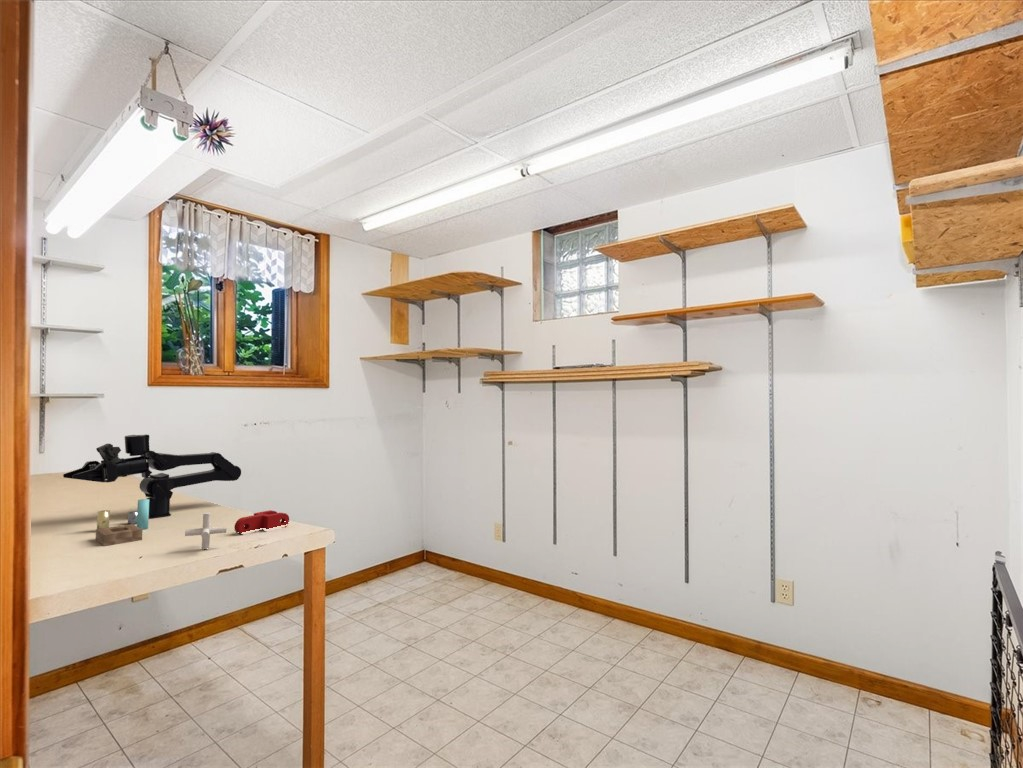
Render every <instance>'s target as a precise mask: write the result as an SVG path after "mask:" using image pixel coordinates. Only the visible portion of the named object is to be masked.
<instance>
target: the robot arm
mask: <svg viewBox="0 0 1023 768" xmlns="http://www.w3.org/2000/svg"><path fill="white" fill-rule="evenodd" d="M124 446H125V447H124V449H125V454H128V455H129V457H127V458H122V457H121V458H120V457H119V454H120V453H121V451H122V449H121V447H120V446H113V444H111V443H105V444H102V445H101V446H98V447H96V452H97V453H98V454H99V455H100V457H101V459H102V460H100V462H99V461H98V460H91V461H90V460H89V461H86V462H85V463H84V464H83V465H82V467H80V468H78V469H74V470H71V471H68V472H66V473H63V474H62V476H63V479H64V478H65V479H72V480H80V481H87V482H88V481H89V482H97V483H112V482H116V480H117V479H118V478H126V477H128V476H133V475H138V474H141V477H142V478H143V479H142V480H140V483H139V489H140V491H141V492H143V493H144V495H145V497H146V499H149V519H155V518H161V517H170V516H172V513H170V508H171V503H170V502H171V498H172V496H173V495H174V494H173V493H174V492H173V491H172V490H173V489H176V488H182V487H187V486H193V485H198V484H203V483H210V482H214V481H215V482H216V481H217V482H218V481H219V482H231V481H232V482H234V481H237V480H239V478H240V477H241V476H242V469H241V467H239V466H237V465H234V464H233V463H232V462H231V461H230V460H228V459H226V458H225V456H223V455H222V454H221V453H220V452H214V451H212V452H205V453H204V452H203V453H190V454H172V453H162V452H155V451H154V450H150V449H151V448H150V435H149V434H129V435H128V434H127V435H124ZM207 464H211V466H212V467H213V468H212V469H210V470H203V471H197V472H191V473H186V474H180V475H174V476H170V474H169V473H164V471H168V470H172V469H175V468H179V467H182V466H196V465H207ZM150 469H152V470H156V471H160V473H157V474H153V472H152V471H151V470H150Z"/></svg>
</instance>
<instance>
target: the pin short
mask: <svg viewBox="0 0 1023 768" xmlns="http://www.w3.org/2000/svg"><path fill="white" fill-rule="evenodd" d="M130 524H134V525H135V526H136V525H137V509H136V510H129V511H128V512H127V525H130Z"/></svg>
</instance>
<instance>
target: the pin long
mask: <svg viewBox="0 0 1023 768" xmlns="http://www.w3.org/2000/svg"><path fill="white" fill-rule="evenodd" d="M136 510H137V524H136V526H137V527H139V528H141V529H142V531H143V530H149V519H150V518H149V499H147V498H144V499H138V500H137V509H136Z"/></svg>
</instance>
